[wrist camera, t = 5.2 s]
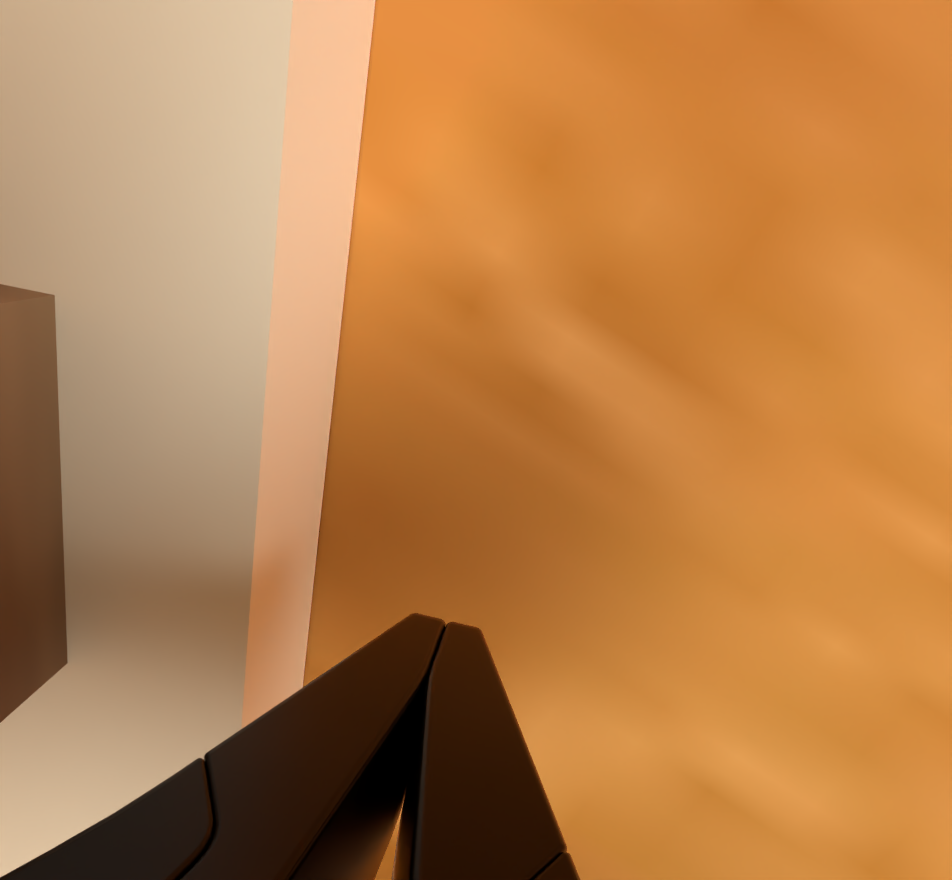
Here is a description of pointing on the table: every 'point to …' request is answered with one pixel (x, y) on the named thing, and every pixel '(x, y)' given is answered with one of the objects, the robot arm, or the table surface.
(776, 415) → the table surface
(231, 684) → the trap deck
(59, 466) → the walnut block
